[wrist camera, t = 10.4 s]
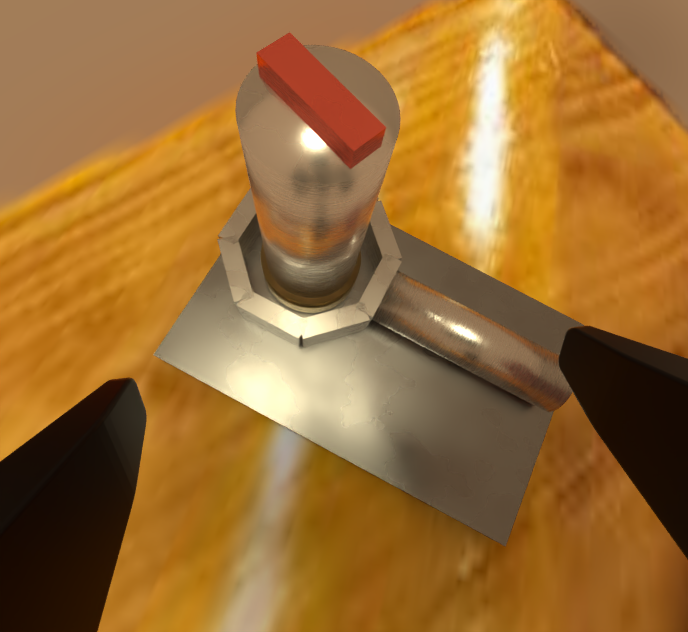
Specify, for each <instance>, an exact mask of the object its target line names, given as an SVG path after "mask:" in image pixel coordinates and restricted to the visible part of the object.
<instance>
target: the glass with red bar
mask: <svg viewBox="0 0 688 632" xmlns="http://www.w3.org/2000/svg"><path fill="white" fill-rule="evenodd" d="M257 61H258V64H257V65H256V66H255V67H254V68H253V69H252V70H251V71H250V72H249V73H248V75H247V76H246V78H245V79H244V81H243V83H242V84H241V87H240V89H239V92H238V96H237V100H236V119H237V125H238V129H239V134H240V139H241V143H242V148H243V153H244V157H245V162H246V167H247V172H248V176H249V181H250V186H251V190H252V195H253V200H254V204H255V209H256V214H257V219H258V223H259V228H260V233H261V237H262V242H263V244H262V248H261V265H262V269H263V273H264V277H265V281H266V283H267V286H268V288H269V290H270V291H271V293H272V294H273V295H274V297H275V298H276V299H277V300H278V301H280V302H281V303H282V304H284V305H285V306H287V307H289V308H291V309H293V310H296V311H300V312H306V313H316V312H322V311H326V310H329V309H331V308H333V307H335V306H337V305H338V304H340V303H341V302H342V301H343V300H344V299H345V298H346V297H347V296H348V295H349V293H350V292H351V290H352V288H353V286H354V284H355V281H356V278H357V276H358V273H359V270H360V266H361V251H360V249H361V246H362V243H363V240H364V237H365V234H366V231H367V228H368V225H369V222H370V219H371V216H372V213H373V210H374V207H375V204H376V201H377V198H378V195H379V192H380V189H381V186H382V182H383V179H384V176H385V173H386V170H387V167H388V164H389V161H390V158H391V155H392V152H393V149H394V146H395V143H396V140H397V137H398V133H399V129H400V110H399V105H398V101H397V99H396V96H395V93H394V91H393V90H392V88H391V86H390V84H389V83H388V82H387V80H386V79H385V77H384V76H383V75H382V74H381V73H380V72H379V71H378V70H377V69H376V68H375V67H373V66H372V65H371V64H370V63H368V62H367V61H365V60H364V59H362V58H360V57H358V56H356V55H355V54H352V53H350V52H347V51H345V50H342V49H338V48H335V47H329V46H322V45H302V44H301V43H300V42H299V41H298V40H297V39H296V38H295V37H294V36H293V35H292V34H291V33H288V34H286V35H285V36H283V37H281V38H280V39H278V40H276V41H275V42H273V43H272V44H270V45H268V46H267V47H265V48H263V49H262V50H260V51H259V52H257Z"/></svg>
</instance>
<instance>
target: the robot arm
mask: <svg viewBox="0 0 688 632" xmlns="http://www.w3.org/2000/svg"><path fill="white" fill-rule="evenodd" d="M558 364H559V368H560V370H561V372H562V374H563V375H564V377H565V379H566V381H567V382H568V384H569V386H570V388H571V389H572V391H573V393H574V395H575V396H576V398H577V400H578V402H579V403H580V405H581V407H582V409H583V410H584V412H585V414H586V415H587V417H588V419H589V421H590V422H591V424H592V425H593V427H594V429H595V430H596V432H597V433H598V434H599V436H600V437H601V439H602V440H603V442H604V443H605V444H606V446H607V447H608V449H609V450H610V451H611V453H612V454H613V456H614V457H615V458H616V460H617V461H618V463H619V464H620V465H621V467H622V468H623V470H624V471H625V472H626V474H627V475H628V477H629V478H630V479H631V481H632V482H633V484H634V485H635V486H636V488H637V489H638V491H639V492H640V493H641V495H642V496H643V498H644V499H645V500H646V502H647V503H648V505H649V506H650V507H651V509H652V510H653V512H654V513H655V514H656V516H657V517H658V519H659V520H660V521H661V523H662V524H663V526H664V527H665V528H666V530H667V531H668V533H669V534H670V535H671V537H672V538H673V540H674V541H675V542H676V544H677V545H678V547H679V548H680V549H681V551H682V552H683V554H684V555H685V556H686V558H687V559H688V359H687V358H684V357H681V356H678V355H675V354H672V353H669V352H666V351H663V350H660V349H657V348H654V347H651V346H648V345H645V344H642V343H639V342H636V341H633V340H630V339H627V338H624V337H621V336H618V335H615V334H612V333H609V332H606V331H603V330H600V329H597V328H594V327H591V326H579V327H572V328H570V329H568V330H567V332H566V334H565V337H564V340H563V344H562V347H561V351H560V354H559V358H558ZM145 427H146V410H145V407H144V404H143V401H142V398H141V395H140V393H139V390H138V387H137V384H136V382H135V381H134V379H132V378H121V379H112V380H109V381H107V382H106V383H104V384H103V385H102V386H100V387H99V388H98V389H96V390H95V391H94V392H92V393H91V394H90V395H88V396H87V397H86V398H84V399H83V400H82V401H80V402H79V403H78V404H76V405H75V406H74V407H72V408H71V409H70V410H68V411H67V412H66V413H64V414H63V415H62V416H60V417H59V418H58V419H56V420H55V421H54V422H52V423H51V424H50V425H48V426H47V427H46V428H44V429H43V430H42V431H40V432H39V433H38V434H36V435H35V436H34V437H32V438H31V439H30V440H28V441H27V442H26V443H24V444H23V445H22V446H20V447H19V448H18V449H16V450H15V451H14V452H12V453H11V454H10V455H8V456H7V457H6V458H4V459H3V460H2V461H0V632H97V631H98V628H99V624H100V620H101V617H102V613H103V609H104V606H105V602H106V599H107V595H108V591H109V588H110V584H111V581H112V577H113V573H114V570H115V566H116V563H117V559H118V555H119V552H120V548H121V544H122V541H123V537H124V534H125V530H126V526H127V523H128V519H129V516H130V512H131V508H132V504H133V500H134V496H135V491H136V486H137V480H138V473H139V467H140V460H141V454H142V447H143V440H144V434H145Z"/></svg>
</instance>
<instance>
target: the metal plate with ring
mask: <svg viewBox="0 0 688 632" xmlns="http://www.w3.org/2000/svg"><path fill="white" fill-rule="evenodd" d="M218 236H219V239H218V243H219V247H220V251H221V255H220V256H219V258H218V259H217V261H216V262H215V264H214V265H213V267H212V268H211V270H210V271H209V273H208V274H207V276H206V277H205V279H204V280H203V282H202V283H201V285H200V286H199V287H198V289H197V290H196V292H195V293H194V295H193V296H192V298H191V299H190V301H189V302H188V304H187V305H186V307H185V308H184V310H183V311H182V313H181V314H180V316H179V317H178V319H177V320H176V322H175V323H174V325H173V326H172V328H171V329H170V331H169V332H168V334H167V335H166V337H165V338H164V340H163V341H162V343H161V344H160V346H159V347H158V349H157V350H156V352H155V353H154V356H156V357H158V358H160V359H162V360H163V361H165V362H167V363H169V364H171V365H173V366H175V367H176V368H178V369H180V370H182V371H184V372H186V373H187V374H189V375H191V376H193V377H195V378H197V379H198V380H200V381H202V382H204V383H206V384H208V385H209V386H211V387H213V388H215V389H217V390H219V391H221V392H222V393H224V394H226V395H228V396H230V397H232V398H233V399H235V400H237V401H239V402H241V403H243V404H244V405H246V406H248V407H250V408H252V409H254V410H255V411H257V412H259V413H261V414H263V415H265V416H267V417H268V418H270V419H272V420H274V421H276V422H278V423H279V424H281V425H283V426H285V427H287V428H289V429H290V430H292V431H294V432H296V433H298V434H300V435H301V436H303V437H305V438H307V439H309V440H311V441H312V442H314V443H316V444H318V445H320V446H322V447H324V448H325V449H327V450H329V451H331V452H333V453H335V454H336V455H338V456H340V457H342V458H344V459H346V460H347V461H349V462H351V463H353V464H355V465H357V466H358V467H360V468H362V469H364V470H366V471H368V472H370V473H371V474H373V475H375V476H377V477H379V478H381V479H382V480H384V481H386V482H388V483H390V484H392V485H393V486H395V487H397V488H399V489H401V490H403V491H404V492H406V493H408V494H410V495H412V496H414V497H416V498H417V499H419V500H421V501H423V502H425V503H427V504H428V505H430V506H432V507H434V508H436V509H438V510H439V511H441V512H443V513H445V514H447V515H449V516H450V517H452V518H454V519H456V520H458V521H460V522H462V523H463V524H465V525H467V526H469V527H471V528H473V529H474V530H476V531H478V532H480V533H482V534H484V535H485V536H487V537H489V538H491V539H493V540H495V541H496V542H498V543H500V544H502V545H504V546H506V544H507V541H508V538H509V535H510V532H511V530H512V527H513V524H514V521H515V518H516V516H517V513H518V510H519V507H520V504H521V502H522V499H523V496H524V493H525V490H526V487H527V485H528V482H529V479H530V476H531V473H532V471H533V468H534V465H535V462H536V459H537V457H538V454H539V451H540V448H541V445H542V443H543V440H544V437H545V434H546V431H547V429H548V426H549V423H550V420H551V417H552V414H553V412H554V411H555V410H556V409H558V408H559V407H561V406H562V405H563V404H564V403H565V402H566V401H567V399H568V398H569V397H570V395H571V394H572V392H573V391H572V389H571V388H570V386H569V384H568V382H567V381H566V379H565V377H564V375H563V374H562V372H561V370H560V368H559V364H558V358H559V354H560V351H561V347H562V344H563V340H564V337H565V334H566V332H567V330H568V329H570V328H572V327H579V326H584V325H583V324H581V323H579V322H577V321H575V320H573V319H571V318H569V317H568V316H566V315H564V314H562V313H560V312H558V311H556V310H554V309H552V308H550V307H548V306H546V305H544V304H543V303H541V302H539V301H537V300H535V299H533V298H531V297H529V296H527V295H525V294H523V293H521V292H519V291H518V290H516V289H514V288H512V287H510V286H508V285H506V284H504V283H502V282H500V281H498V280H496V279H494V278H492V277H491V276H489V275H487V274H485V273H483V272H481V271H479V270H477V269H475V268H473V267H471V266H469V265H467V264H466V263H464V262H462V261H460V260H458V259H456V258H454V257H452V256H450V255H448V254H446V253H444V252H442V251H441V250H439V249H437V248H435V247H433V246H431V245H429V244H427V243H425V242H423V241H421V240H419V239H417V238H415V237H414V236H412V235H410V234H408V233H406V232H404V231H402V230H400V229H398V228H396V227H394V226H392V225H390V224H389V221H388V218H387V215H386V213H385V210H384V207H383V205H382V202H381V201H378V198H377V201H376V204H375V207H374V210H373V213H372V216H371V219H370V222H369V225H368V228H367V231H366V234H365V237H364V240H363V243H362V246H361V249H360V251H361V266H360V270H359V273H358V276H357V278H356V281H355V284H354V286H353V288H352V290H351V292H350V293H349V295H348V296H347V297H346V298H345V299H344V300H343V301H342V302H341V303H340V304H338V305H337V306H335V307H333V308H331V309H329V310H326V311H322V312H316V313H306V312H300V311H296V310H293V309H291V308H289V307H287V306H285V305H284V304H282V303H281V302H280V301H278V300H277V299H276V298H275V297H274V295H273V294H272V293H271V291H270V290H269V288H268V286H267V283H266V281H265V277H264V273H263V269H262V265H261V248H262V244H263V242H262V237H261V233H260V228H259V223H258V219H257V214H256V209H255V204H254V200H253V195H252V190H251V188H250V190H249V191H248V193H247V194H246V195H245V197H244V198H243V200H242V201H241V203H240V204H239V206H238V207H237V209H236V210H235V212H234V213H233V215H232V216H231V217H230V219H229V220H228V222H227V223H226V225H225V226H224V228H223V229H222V231H221V232H220V234H219V235H218Z"/></svg>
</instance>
